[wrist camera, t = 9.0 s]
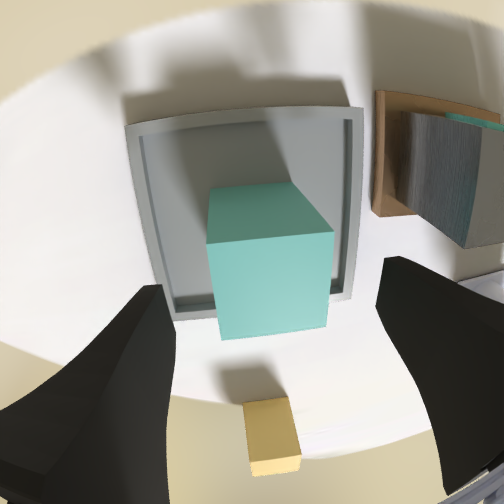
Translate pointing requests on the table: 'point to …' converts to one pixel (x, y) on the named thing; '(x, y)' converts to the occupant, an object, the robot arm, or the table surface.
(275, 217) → the teal block
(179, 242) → the slate tray
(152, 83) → the table surface
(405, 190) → the silver unit
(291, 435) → the ochre block
